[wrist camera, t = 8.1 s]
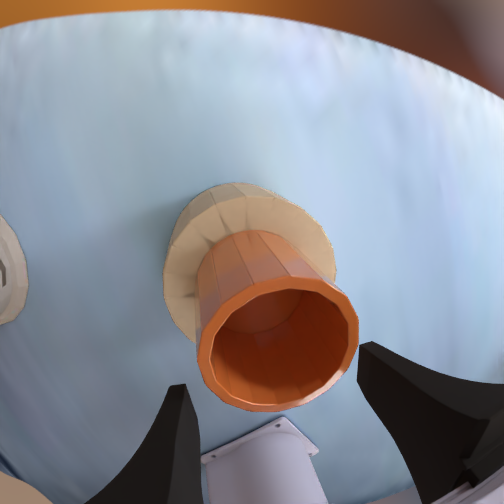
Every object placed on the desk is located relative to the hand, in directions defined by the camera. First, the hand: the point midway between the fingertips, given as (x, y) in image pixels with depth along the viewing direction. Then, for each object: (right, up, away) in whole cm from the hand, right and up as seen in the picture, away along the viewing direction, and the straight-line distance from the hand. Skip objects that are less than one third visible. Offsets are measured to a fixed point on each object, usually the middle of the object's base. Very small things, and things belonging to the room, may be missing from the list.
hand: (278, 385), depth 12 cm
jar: (-2, +6, +8) cm, 10 cm away
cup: (-1, +4, +3) cm, 5 cm away
